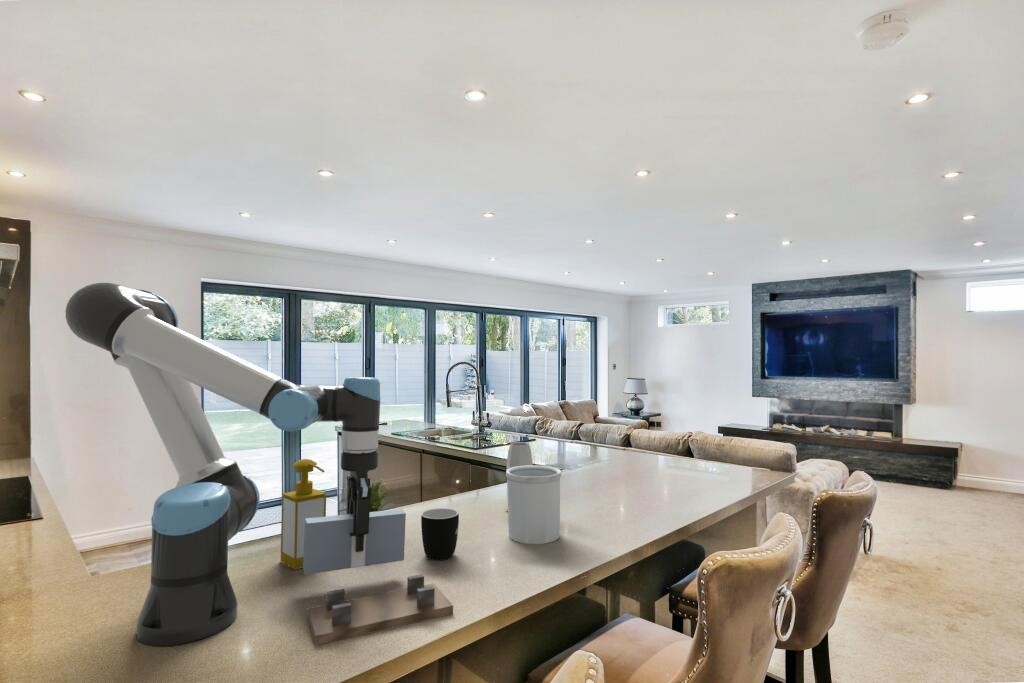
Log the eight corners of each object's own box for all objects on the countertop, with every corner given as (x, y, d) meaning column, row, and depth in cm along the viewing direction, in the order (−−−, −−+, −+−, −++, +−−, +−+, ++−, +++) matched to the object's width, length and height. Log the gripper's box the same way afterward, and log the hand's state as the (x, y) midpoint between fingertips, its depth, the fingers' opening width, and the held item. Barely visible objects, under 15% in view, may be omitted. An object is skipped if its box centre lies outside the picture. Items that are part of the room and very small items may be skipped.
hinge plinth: (315, 645, 86) (315, 617, 86) (307, 616, 96) (308, 591, 96) (453, 613, 97) (453, 588, 97) (433, 590, 107) (433, 568, 107)
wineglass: (533, 515, 161) (533, 445, 162) (505, 514, 161) (505, 445, 162) (532, 507, 170) (533, 441, 171) (505, 507, 170) (506, 441, 171)
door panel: (304, 574, 104) (307, 523, 105) (302, 568, 107) (305, 518, 108) (403, 560, 113) (405, 513, 114) (399, 554, 117) (401, 509, 117)
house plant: (352, 531, 144) (353, 471, 145) (402, 532, 144) (403, 471, 145) (332, 549, 130) (334, 483, 131) (388, 550, 130) (389, 483, 130)
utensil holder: (532, 550, 131) (532, 478, 132) (494, 535, 142) (494, 469, 143) (572, 537, 141) (572, 471, 141) (534, 524, 152) (534, 463, 152)
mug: (461, 560, 123) (461, 517, 124) (422, 564, 121) (423, 519, 121) (453, 543, 135) (453, 503, 135) (417, 547, 133) (418, 506, 133)
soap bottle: (306, 576, 114) (308, 466, 115) (280, 561, 123) (282, 459, 124) (336, 567, 119) (338, 462, 120) (310, 553, 128) (312, 455, 129)
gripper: (387, 455, 106) (383, 574, 105) (369, 443, 121) (365, 547, 120) (348, 457, 102) (344, 580, 101) (335, 445, 117) (330, 552, 116)
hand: (355, 562), depth 110 cm, fingers closed on door panel, 4 cm apart
